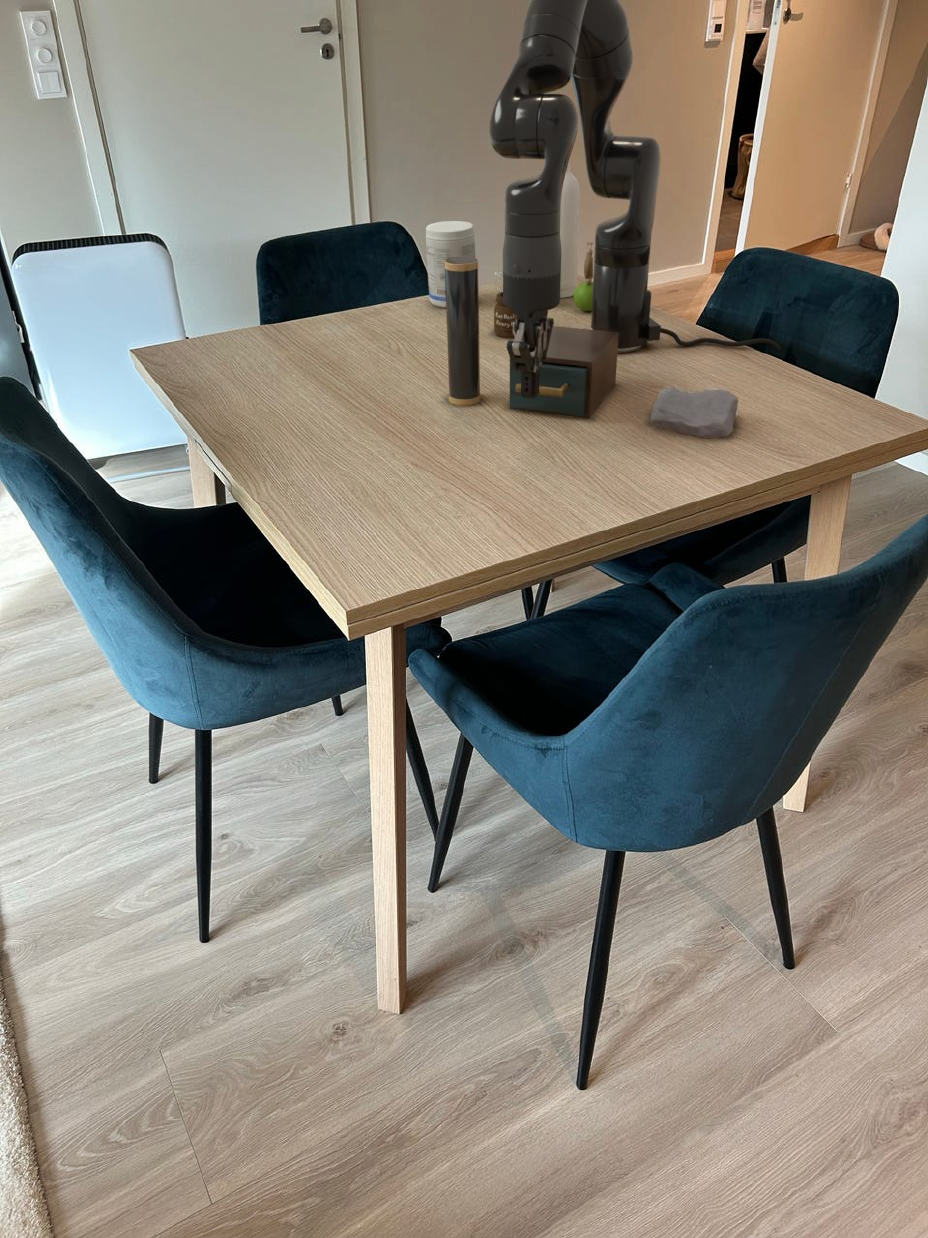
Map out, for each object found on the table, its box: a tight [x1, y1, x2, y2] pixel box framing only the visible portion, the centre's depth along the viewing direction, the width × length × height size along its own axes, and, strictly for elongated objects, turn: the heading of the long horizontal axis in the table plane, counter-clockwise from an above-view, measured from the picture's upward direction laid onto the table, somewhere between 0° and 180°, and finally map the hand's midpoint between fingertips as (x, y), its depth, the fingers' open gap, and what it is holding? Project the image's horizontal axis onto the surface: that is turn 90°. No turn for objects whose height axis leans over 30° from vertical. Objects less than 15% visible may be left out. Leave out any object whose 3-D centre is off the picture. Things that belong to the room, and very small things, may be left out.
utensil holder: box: [493, 270, 516, 339], centre depth 175 cm, size 6×6×12 cm
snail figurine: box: [572, 241, 594, 312], centre depth 186 cm, size 5×6×12 cm
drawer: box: [509, 362, 587, 416], centre depth 146 cm, size 17×11×7 cm, turn 158°
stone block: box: [650, 386, 739, 439], centre depth 140 cm, size 12×5×10 cm
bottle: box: [560, 158, 581, 299], centre depth 192 cm, size 8×8×30 cm
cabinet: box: [509, 325, 619, 420], centre depth 149 cm, size 15×13×9 cm
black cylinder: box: [444, 256, 482, 407], centre depth 146 cm, size 5×5×21 cm
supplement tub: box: [425, 220, 476, 309], centre depth 192 cm, size 10×10×15 cm
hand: (530, 396), depth 136 cm, fingers closed
